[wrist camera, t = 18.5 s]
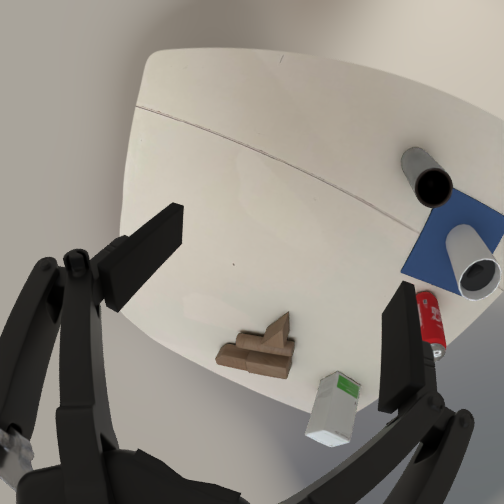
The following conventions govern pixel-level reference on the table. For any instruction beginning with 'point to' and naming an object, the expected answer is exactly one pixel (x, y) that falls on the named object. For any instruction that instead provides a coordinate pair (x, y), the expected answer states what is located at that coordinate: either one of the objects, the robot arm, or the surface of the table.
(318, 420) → the cosmetic box
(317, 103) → the table surface
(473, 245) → the white cup
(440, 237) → the cloth mat
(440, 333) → the beverage can
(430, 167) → the gray tube
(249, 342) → the wooden block set
